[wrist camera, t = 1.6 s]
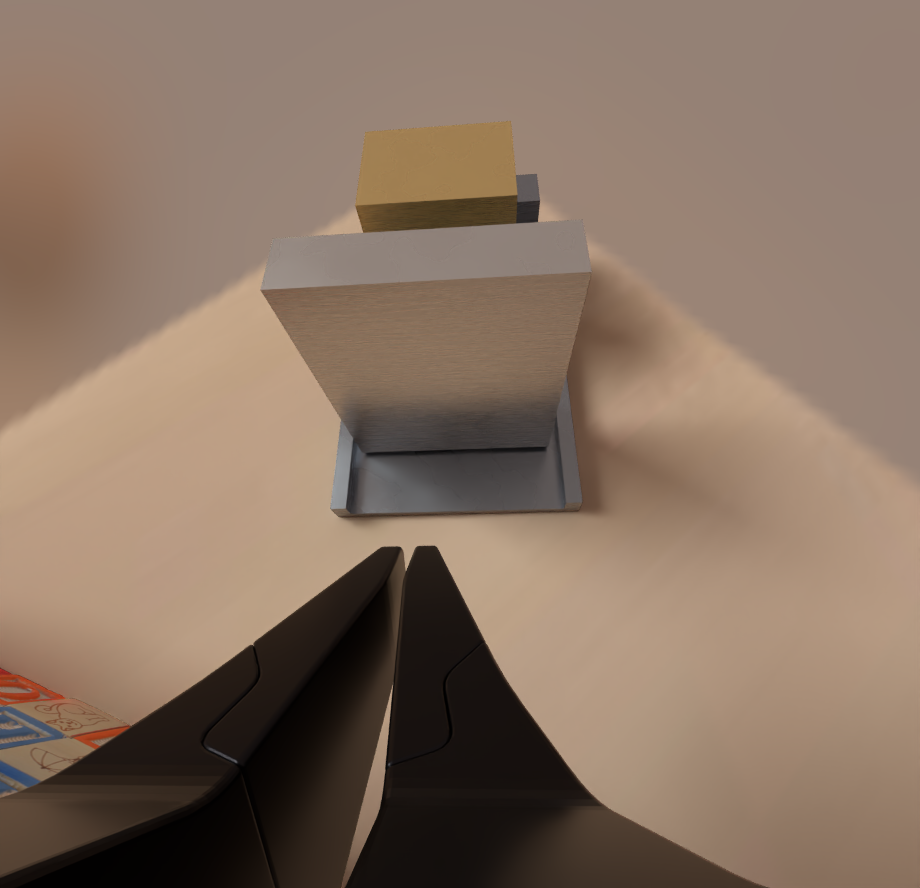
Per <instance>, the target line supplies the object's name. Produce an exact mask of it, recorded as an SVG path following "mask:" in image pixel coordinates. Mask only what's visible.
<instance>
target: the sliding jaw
mask: <svg viewBox="0 0 920 888" xmlns="http://www.w3.org/2000/svg"><path fill="white" fill-rule="evenodd" d="M591 273H592V270H591V264H590V259H589V253H588V247H587V241H586V236H585V230H584V225H583V220H567V221H551V222H534V223H518V224H502V225H485V226H469V227H453V228H436V229H420V230H404V231H387V232H371V233H355V234H338V235H322V236H305V237H289V238H274V239H273V240H272V244H271V248H270V253H269V257H268V261H267V265H266V269H265V273H264V277H263V282H262V286H261V292H262V293H263V295H264V296H265V298H266V300H267V301H268V303H269V304H270V306H271V308H272V309H273V311H274V312H275V314H276V316H277V317H278V319H279V320H280V322H281V324H282V325H283V327H284V328H285V330H286V332H287V333H288V335H289V336H290V338H291V340H292V341H293V343H294V344H295V346H296V348H297V349H298V351H299V353H300V354H301V356H302V357H303V359H304V361H305V362H306V364H307V365H308V367H309V369H310V370H311V372H312V373H313V375H314V377H315V378H316V380H317V381H318V383H319V385H320V386H321V388H322V389H323V391H324V393H325V394H326V396H327V397H328V399H329V401H330V402H331V404H332V406H333V407H334V409H335V410H336V412H337V414H338V415H339V417H340V418H341V420H342V422H343V423H344V425H345V426H346V428H347V430H348V431H349V433H350V434H351V436H352V438H353V439H354V441H355V442H356V444H357V446H358V447H359V449H360V450H361V452H362V453H365V452H395V451H426V450H456V449H486V448H516V447H547V446H549V443H550V439H551V435H552V431H553V427H554V422H555V418H556V414H557V410H558V406H559V402H560V398H561V394H562V390H563V386H564V382H565V378H566V374H567V370H568V366H569V362H570V358H571V354H572V350H573V346H574V342H575V338H576V334H577V330H578V326H579V322H580V317H581V313H582V309H583V305H584V301H585V297H586V293H587V289H588V285H589V281H590V277H591Z"/></svg>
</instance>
